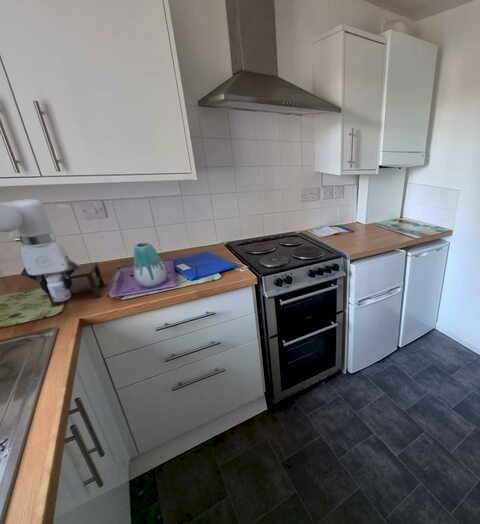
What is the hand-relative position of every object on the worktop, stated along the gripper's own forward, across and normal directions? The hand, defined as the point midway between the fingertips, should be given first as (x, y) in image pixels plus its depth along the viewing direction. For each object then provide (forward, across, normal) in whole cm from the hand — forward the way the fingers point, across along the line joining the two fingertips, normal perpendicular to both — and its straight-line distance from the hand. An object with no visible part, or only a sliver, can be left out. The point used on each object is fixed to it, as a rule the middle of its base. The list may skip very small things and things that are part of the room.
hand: (58, 288), depth 103 cm
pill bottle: (+4, 0, 0) cm, 4 cm away
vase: (+9, +26, +12) cm, 30 cm away
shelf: (+9, +1, +14) cm, 17 cm away
